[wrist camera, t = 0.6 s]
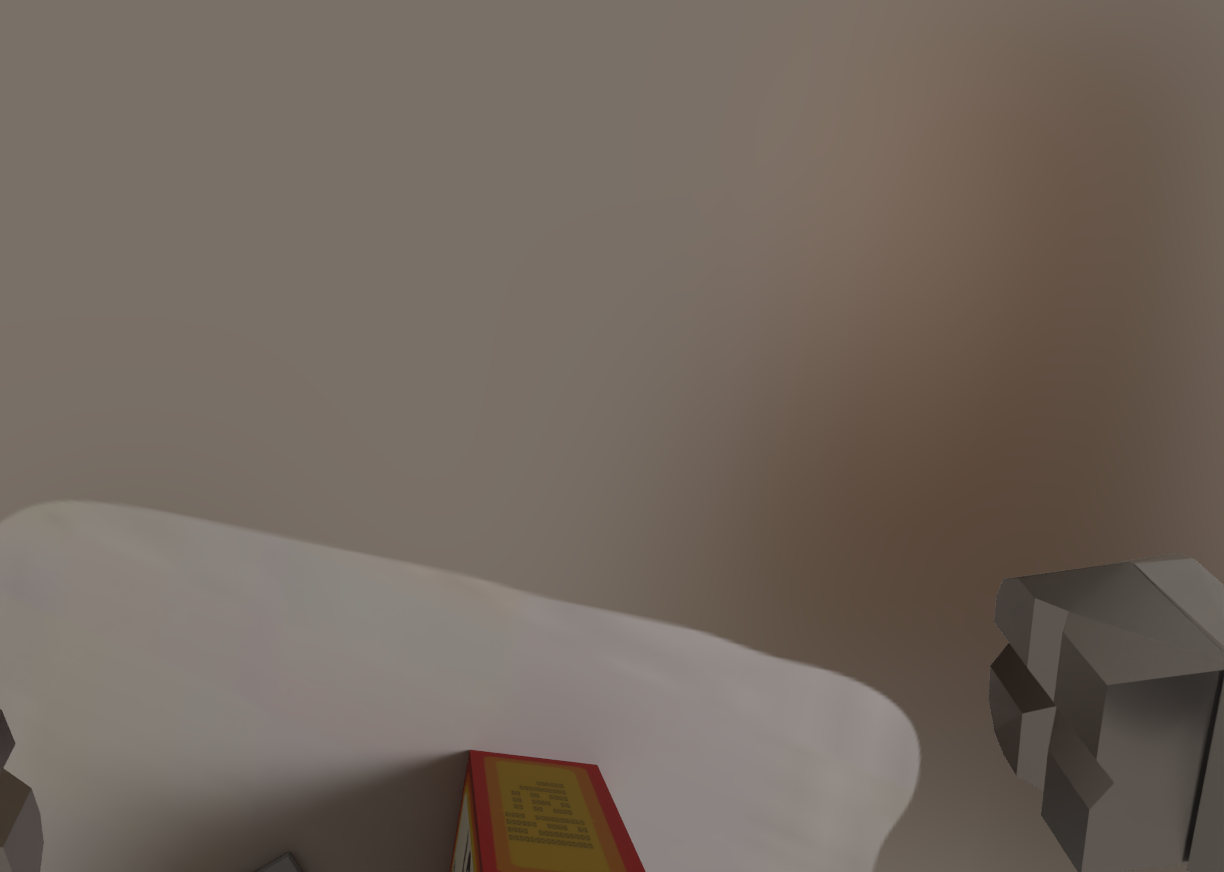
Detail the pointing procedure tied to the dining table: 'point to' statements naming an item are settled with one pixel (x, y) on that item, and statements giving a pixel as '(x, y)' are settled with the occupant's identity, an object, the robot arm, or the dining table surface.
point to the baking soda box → (538, 818)
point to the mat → (282, 865)
